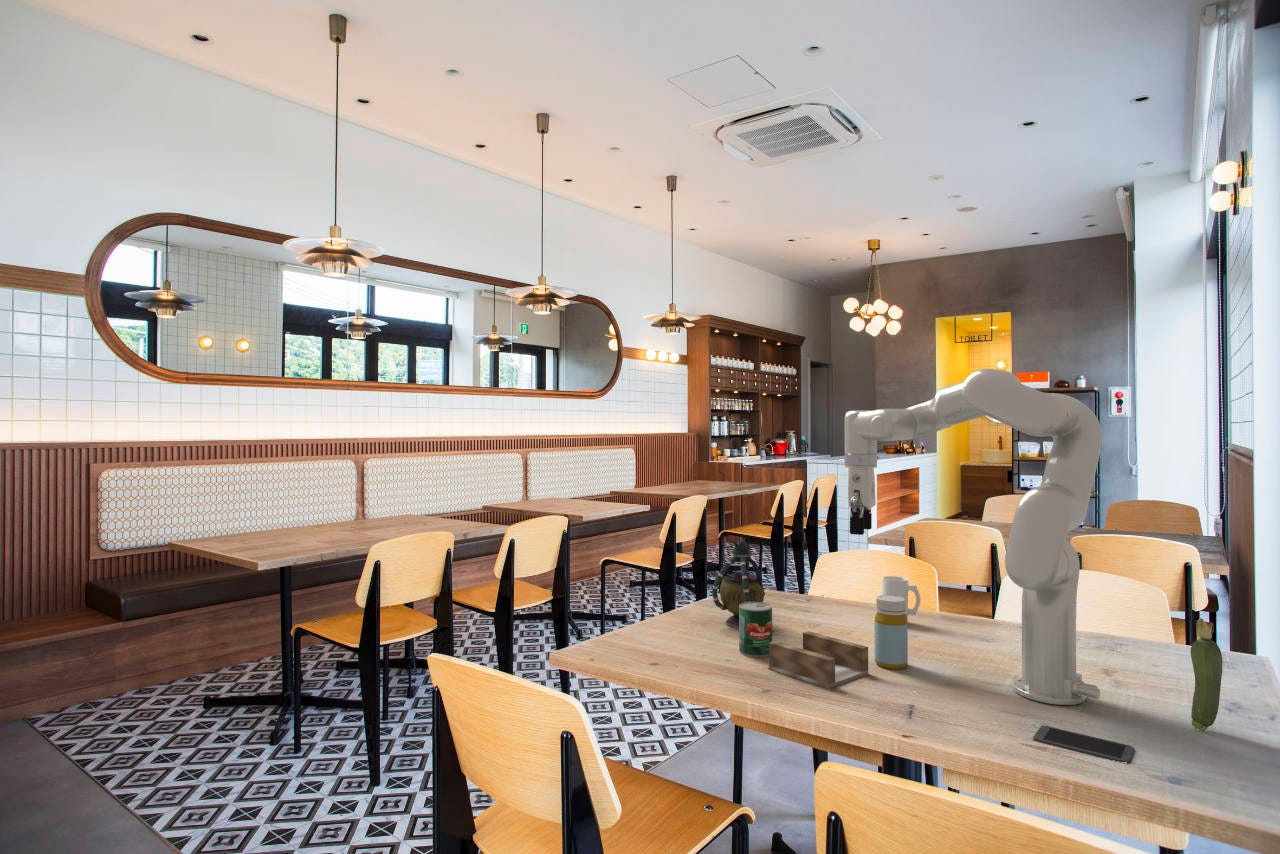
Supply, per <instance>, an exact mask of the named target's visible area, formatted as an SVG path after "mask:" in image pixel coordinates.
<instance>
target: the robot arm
mask: <svg viewBox="0 0 1280 854" xmlns="http://www.w3.org/2000/svg"><path fill="white" fill-rule="evenodd" d="M986 416H988V418H992V419H993V420H996V421H998V422H1000V423H1002V424H1003V425H1007V426H1008V427H1010V428H1013V429H1015V430H1017V431H1018V432H1021V433H1023V434H1026V435H1029V436H1033V437H1039V438H1040V437H1051V438H1052V440H1053V441H1052V442H1053V443H1052V446H1051V449H1050V451H1049V454H1048V456H1047V458H1046V461H1045V462H1046V463H1045V467H1044V468H1045V469H1044V473H1043V477H1042V479H1041V481H1040V482H1041V483H1040V485H1039V486H1036V487H1034V488H1031V489H1030V490H1028V491H1026V492H1024V494H1023V496H1021V498H1020V500H1019V501H1018V504H1017V505H1016V507H1015V511H1014V515H1013V519H1012V522H1011V523H1012V524H1011V529H1010V532H1009V537H1008V542H1007V544H1006V549H1005V555H1004V567H1005V572H1006V573H1007V576H1008V577H1009V579H1010V580H1011V581H1012V582H1013V584H1015V585H1016V586H1018V587H1020V588H1022V592H1021V593H1022V595H1021V678H1017V679H1015V680H1014V681H1013V683H1012V684H1013V686H1012V687H1013V690H1014V691H1015V692H1016V693H1017V694H1019V695H1020V696H1022V697H1024V698H1027V699H1030V700H1032V701H1036V702H1040V703H1045V704H1050V705H1057V706H1058V705H1059V706H1073V705H1074V706H1075V705H1080V704H1083V703H1084V702H1085V701H1086V699H1087V697H1088V698H1091V699H1096V700H1099V699H1100V697H1101V689H1100V688H1098V685H1095V684H1091V683H1086V682H1084V680H1082V678H1083V676H1082V674H1081V673H1077V602H1078V601H1077V599H1078V586H1079V580H1080V579H1079V578H1080V569H1081V567H1080V564H1081V563H1080V558H1079V554H1078V552H1077V550H1076V549H1075V547H1074V546H1073V545H1072V544H1071V543H1070V542H1069V540H1067V536H1068V532H1070V531H1071V532H1072V531H1073V530H1075V529H1077V528H1079V527H1080V526H1081V525H1082V524H1083V523H1084V521H1085V519H1086V516H1087V513H1088V508H1089V502H1090V498H1091V494H1092V490H1093V486H1094V482H1095V477H1096V473H1097V468H1098V464H1099V459H1100V455H1101V450H1102V444H1103V432H1102V427H1101V425H1100V424H1101V423H1100V421H1099V419H1098V417H1097V416H1096V415H1095V413H1094V412H1093V411H1092V410H1091V408H1090V407H1088V406H1087V405H1086V404H1085V403H1083V402H1082V401H1080V400H1079V399H1077V398H1075V397H1073V396H1070V395H1067V394H1062V393H1057V392H1056V393H1055V392H1050V393H1049V392H1042V391H1040V390H1038V389H1035V388H1033V387H1030V386H1029V385H1026V384H1024V383H1022V382H1021V380H1020V378H1019V377H1017V376H1016V375H1015V374H1014V373H1012V372H1010V371H1007V370H1003V369H995V368H994V369H993V368H982V369H977V370H976V371H974V372H972V373H971V374H969V375H968V376H967V377H966V379H964V381H960V382H958V383H955V384H952V385H948V386H945V387H943V388H940V389H938V390H937V391H936V392H935V395H934V397H933V398H931V399H930V400H927V401H925V402H922V403H918V404H916V405H914V406H913V405H912V406H910V407H906V408H880V409H879V408H878V409H873V410H868V409H867V410H864V409H863V410H862V409H860V410H859V409H858V410H848V411H847V412H846V413H845V414H844V468H848V476H847V477H848V481H847V482H848V484H847V485H848V489H847V493H848V494H847V496H848V497H847V500H848V507H849V508H850V512H849V534H850V535H858V536H859V535H861V536H863V535H864V534H865V530H872V529H873V527H872V523H873V522H872V521H873V520H872V517H873V516H872V514H873V513H872V508H874V507H875V506H876V503H877V502H876V500H877V499H876V481H875V468H878V441H880V442H891V441H892V442H893V441H894V442H895V441H908V440H912V439H916V438H919V437H922V436H926V435H930V434H933V433H936V432H937V433H938V432H939V431H942V430H944V429H948V428H950V427H953V426H955V425H958V424H962V423H966V422H968V421H969V422H970V421H972V420H977V419H979V418H982V417H986Z"/></svg>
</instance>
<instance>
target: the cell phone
mask: <svg viewBox="0 0 1280 854" xmlns="http://www.w3.org/2000/svg"><path fill="white" fill-rule="evenodd" d="M1032 741H1035V742H1038V743H1041V744H1045V745H1049V746H1052V747H1058V748H1062V749H1065V750H1069V751H1074V752H1078V753H1082V754H1084V755H1085V754H1086V755H1089V756H1092V755H1093V757H1098V758H1100V757H1101V759H1104V758H1105V760H1108V759H1109V760H1110V761H1112V760H1115V761H1114V762H1116V761H1120V762H1127V763H1129V762H1130V761H1131V762H1132V760H1133V757H1132V756H1134V754H1135V748H1134V746H1132V745H1129V744H1125V743H1121V742H1117V741H1113V740H1109V739H1105V738H1100V737H1095V736H1093V735H1092V736H1091V735H1088V734H1087V735H1086V734H1083V733H1080V732H1079V733H1078V732H1073V731H1070V730H1066V729H1062V728H1059V727H1058V728H1057V727H1052V726H1049V725H1042V726H1040V727H1039V728H1038V730H1037V731H1036V732H1035V734H1034V735H1033V738H1032ZM1109 760H1108V761H1109ZM1120 762H1119V763H1120ZM1131 762H1130V763H1131ZM1130 763H1129V764H1130Z"/></svg>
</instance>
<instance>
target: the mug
mask: <svg viewBox="0 0 1280 854" xmlns="http://www.w3.org/2000/svg"><path fill="white" fill-rule="evenodd" d="M881 580H882V581H881V583H882V584H881V585H882V586H881V587H882V589H881V590H882V592H881V593H882V595H893V596H899V597H903V598H905V615H906V617H907V621H909V620H908V617H909V615H912V616H914V615H916V614H917V612H918V610H919V608H920V605H921V595H920V591H919V589H918V588H917V587H918V586H917V585H916V584H911V585H909V579H908V577H902V576H899V575H898V576H895V575H892V576H891V575H886V576H882V577H881ZM909 591H911V592H913V593H914V595H915V599H916V600H915V604H914V607H913V608H909V605H908V604H909Z"/></svg>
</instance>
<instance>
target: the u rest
mask: <svg viewBox="0 0 1280 854" xmlns="http://www.w3.org/2000/svg"><path fill="white" fill-rule="evenodd" d="M768 669H769V670H772V671H775V672H777V673H780V674H784V675H787V676H789V677H792V678H796V679H798V680H802V681H804V682H808V683H811V684H813V685H817V686H820V687H822V688H826V689H832V688H835V687H837V686H841V685H842V684H846V683H848V682H850V681H853V680H856V679H858V678H860V677H864V676H866V675H868V674H869V646H866V645H864V644H863V645H862V644H858V643H854V642H851V641H847V640H844V639H840V638H836V637H831V636H829V635H825V634H820V633H817V632H813V631H809V630H807V631H804V632H802V647H801V648H800V647H797V646H794V645H790V644H787V643H783V642H780V641H777V640H772V642H769V656H768Z"/></svg>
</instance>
